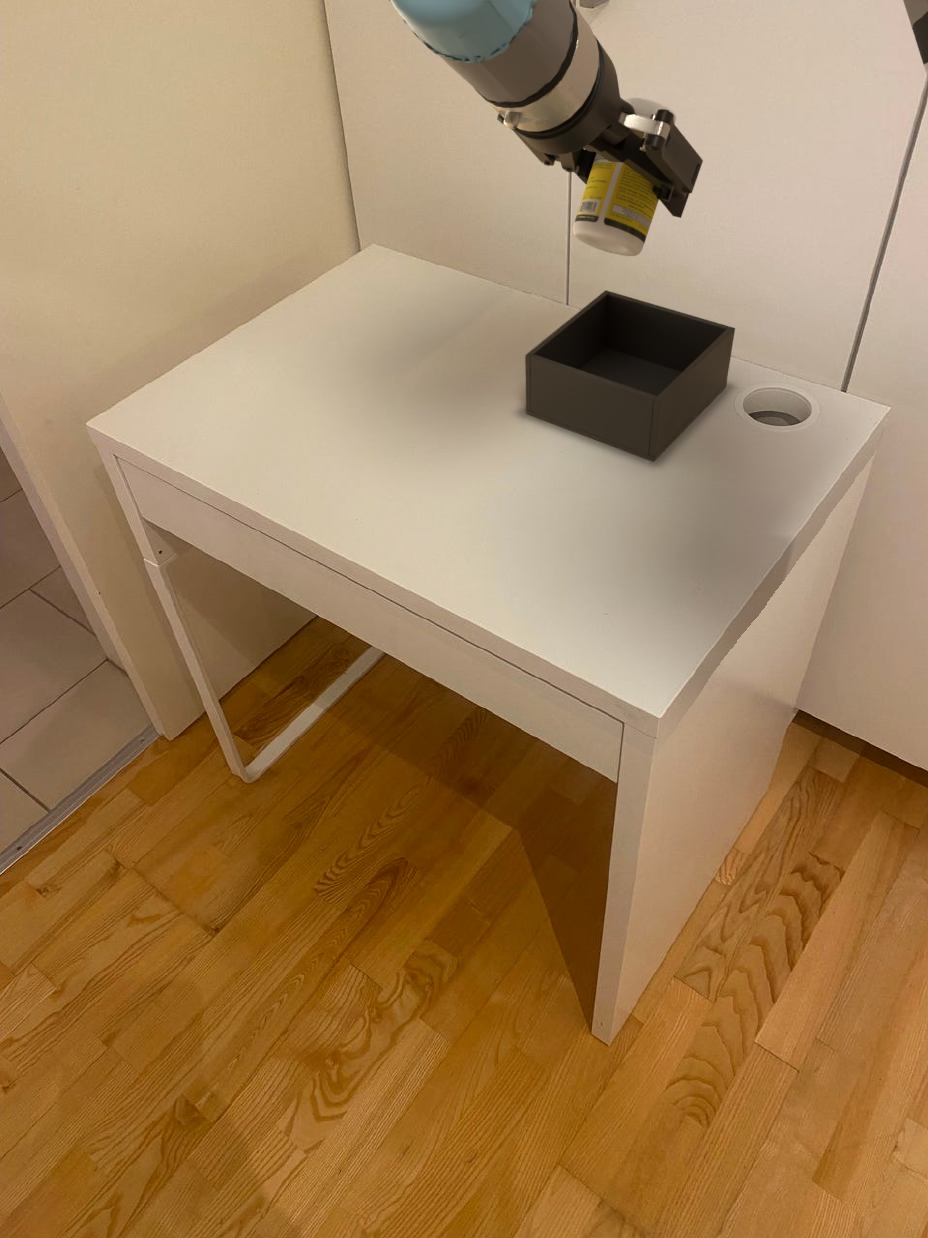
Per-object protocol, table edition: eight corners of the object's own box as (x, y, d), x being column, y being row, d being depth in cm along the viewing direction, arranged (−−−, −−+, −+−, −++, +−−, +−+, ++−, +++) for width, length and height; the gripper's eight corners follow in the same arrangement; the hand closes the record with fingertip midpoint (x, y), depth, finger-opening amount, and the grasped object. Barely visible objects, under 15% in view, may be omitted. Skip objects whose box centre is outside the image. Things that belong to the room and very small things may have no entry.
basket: (726, 387, 94) (735, 327, 90) (653, 461, 87) (659, 401, 82) (602, 347, 101) (605, 289, 96) (525, 413, 94) (524, 354, 89)
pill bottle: (646, 263, 83) (691, 130, 80) (631, 244, 77) (679, 101, 75) (580, 246, 85) (623, 116, 82) (561, 226, 79) (606, 86, 76)
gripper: (413, 112, 68) (537, 214, 89) (661, 160, 60) (734, 260, 81) (444, 0, 66) (563, 130, 87) (703, 34, 59) (767, 168, 79)
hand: (645, 193), depth 84 cm, fingers closed on pill bottle, 6 cm apart
